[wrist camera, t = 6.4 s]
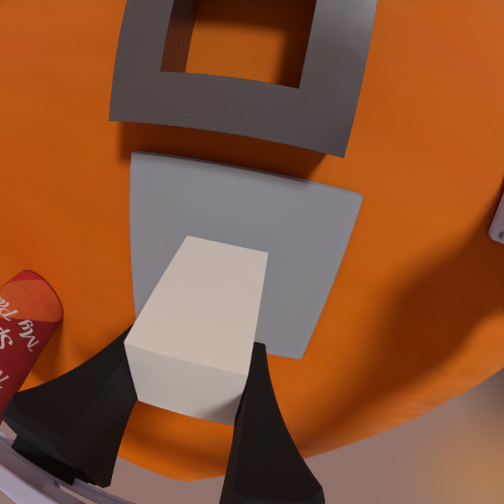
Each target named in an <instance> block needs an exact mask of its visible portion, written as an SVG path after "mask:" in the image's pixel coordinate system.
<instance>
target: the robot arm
mask: <svg viewBox="0 0 504 504" xmlns="http://www.w3.org/2000/svg"><path fill="white" fill-rule="evenodd" d="M500 232H501V234H500ZM499 234H500V235H499ZM489 237H490V238H491V239H493V240H494V241H497V242H499V243H502V244H504V193H503V195H502V198H501V201H500V204H499V206H498V209H497V211H496V214H495V217H494V219H493V221H492V224H491V226H490V229H489ZM133 325H134V323H133V324H132V325H131V326H130V327H129V328H128V329H127V330H126V331H125V332H123V333H122V334H121V335H120V336H119V337H117V338H116V339H115V340H114V341H113V342H111V343H110V344H109V345H108V346H106V347H105V348H104V349H102V350H101V351H100V352H98V353H97V354H96V355H94V356H93V357H92V358H90V359H89V360H87V361H86V362H84V363H83V364H81V365H79V366H78V367H76V368H74V369H73V370H71V371H69V372H67V373H65V374H63V375H62V376H60V377H57V378H55V379H53V380H51V381H48V382H46V383H44V384H41V385H39V386H36V387H33V388H30V389H27V390H24V391H20V392H17V393H14V394H13V396H12V397H11V398H10V400H9V401H8V403H7V405H6V406H5V408H4V410H3V411H2V413H1V417H2V419H3V420H4V421H5V423H7V425H8V426H9V427H10V428H11V429H12V430H13V431H14V432H15V433H16V434H17V437H16V439H15V440H12V439H11V438H10V437H8V436H7V435H5V434H4V433H3V432H1V431H0V489H1V490H2V491H3V492H4V493H5V494H7V495H8V496H9V497H10V498H11V499H12V500H14V501H15V502H17V503H18V504H86V503H84V502H82V501H80V500H79V499H77V498H76V497H74V496H72V495H70V494H68V493H66V492H65V491H63V490H61V489H60V487H59V484H60V485H62V486H63V487H65V488H67V489H69V490H71V491H73V492H75V493H77V494H79V495H81V496H83V497H85V498H87V499H89V500H91V501H93V502H95V503H98V504H135V503H133V502H130V501H127V500H124V499H122V498H119V497H117V496H114V495H112V494H110V493H107V492H105V491H103V490H100V489H98V488H96V487H93V486H91V485H89V484H88V483H91V484H92V485H97V486H100V487H102V488H105V487H108V486H110V484H111V479H112V474H113V470H114V466H115V461H116V458H117V454H118V450H119V447H120V443H121V440H122V437H123V434H124V430H125V428H126V425H127V422H128V419H129V416H130V413H131V411H132V409H133V407H134V404H135V402H136V400H137V398H138V397H137V393H136V390H135V386H134V382H133V379H132V375H131V371H130V367H129V363H128V358H127V354H126V350H125V345H124V341H125V339H126V338H127V336H128V334H129V332H130V330H131V329H132V327H133ZM219 504H325V498H324V493H323V489H322V486H321V485H320V484H319V482H318V481H317V479H316V478H315V477H314V475H313V474H312V472H311V471H310V470H309V468H308V466H307V465H306V463H305V462H304V460H303V458H302V457H301V455H300V453H299V451H298V449H297V448H296V446H295V444H294V442H293V440H292V438H291V436H290V434H289V432H288V430H287V427H286V425H285V423H284V420H283V418H282V415H281V412H280V410H279V407H278V404H277V401H276V397H275V394H274V391H273V387H272V383H271V379H270V374H269V369H268V363H267V355H266V345H265V344H264V343H259V342H254V343H253V349H252V355H251V361H250V367H249V372H248V377H247V380H246V384H245V387H244V390H243V394H242V397H241V400H240V403H239V407H238V410H237V413H236V416H235V422H234V433H233V440H232V446H231V451H230V456H229V461H228V466H227V470H226V475H225V480H224V484H223V489H222V493H221V498H220V502H219Z"/></svg>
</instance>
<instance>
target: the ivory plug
mask: <svg viewBox="0 0 504 504" xmlns="http://www.w3.org/2000/svg"><path fill="white" fill-rule="evenodd" d="M267 258H268V253H267V252H262V251H258V250H253V249H248V248H243V247H239V246H234V245H229V244H225V243H220V242H215V241H210V240H206V239H201V238H196V237H191V236H187V237H186V239H185V240H184V242H183V243H182V245H181V247H180V248H179V250H178V251H177V253H176V254H175V256H174V258H173V259H172V261H171V262H170V264H169V266H168V267H167V269H166V271H165V272H164V274H163V276H162V277H161V279H160V281H159V282H158V284H157V286H156V287H155V289H154V291H153V292H152V294H151V296H150V297H149V299H148V301H147V302H146V304H145V306H144V308H143V309H142V311H141V313H140V314H139V316H138V318H137V320H136V321H135V323H134V325H133V327H132V329H131V330H130V332H129V334H128V336H127V338H126V339H125V341H124V345H125V350H126V354H127V358H128V363H129V367H130V371H131V375H132V379H133V382H134V386H135V390H136V393H137V397H138V400H139V401H141V402H144V403H147V404H150V405H153V406H156V407H160V408H163V409H166V410H170V411H173V412H177V413H180V414H184V415H188V416H192V417H196V418H200V419H204V420H208V421H212V422H217V423H221V424H226V425H231V426H233V423H234V420H235V416H236V413H237V410H238V407H239V403H240V400H241V397H242V394H243V390H244V387H245V384H246V380H247V377H248V372H249V367H250V361H251V355H252V349H253V343H254V337H255V331H256V326H257V320H258V313H259V307H260V301H261V295H262V289H263V283H264V277H265V270H266V264H267Z"/></svg>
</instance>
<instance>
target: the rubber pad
mask: <svg viewBox="0 0 504 504" xmlns="http://www.w3.org/2000/svg"><path fill="white" fill-rule="evenodd" d="M362 200H363V196H362V195H361V194H360V193H357V192H353V191H349V190H346V189H342V188H338V187H334V186H330V185H326V184H322V183H318V182H314V181H310V180H305V179H301V178H297V177H292V176H288V175H283V174H278V173H274V172H269V171H264V170H259V169H254V168H249V167H244V166H239V165H233V164H228V163H222V162H216V161H210V160H204V159H198V158H191V157H185V156H178V155H171V154H163V153H156V152H148V151H139V150H136V151H134V152H131V171H130V242H131V264H132V280H133V293H134V304H135V314H136V320H137V318H138V316H139V314H140V313H141V311H142V309H143V308H144V306H145V304H146V302H147V301H148V299H149V297H150V296H151V294H152V292H153V291H154V289H155V287H156V286H157V284H158V282H159V281H160V279H161V277H162V276H163V274H164V272H165V271H166V269H167V267H168V266H169V264H170V262H171V261H172V259H173V258H174V256H175V254H176V253H177V251H178V250H179V248H180V247H181V245H182V243H183V242H184V240H185V239H186V237H187V236H191V237H196V238H201V239H206V240H210V241H215V242H220V243H225V244H229V245H234V246H239V247H243V248H248V249H253V250H258V251H262V252H267V253H268V258H267V264H266V270H265V277H264V283H263V289H262V295H261V301H260V307H259V313H258V320H257V326H256V331H255V337H254V342H259V343H264V344H265V345H266V353H267V354H272V355H278V356H283V357H289V358H295V359H301V358H302V356H303V354H304V351H305V349H306V347H307V345H308V342H309V340H310V338H311V335H312V333H313V331H314V329H315V326H316V324H317V321H318V319H319V317H320V314H321V312H322V309H323V307H324V305H325V302H326V300H327V297H328V295H329V292H330V290H331V287H332V284H333V282H334V279H335V277H336V274H337V271H338V269H339V266H340V263H341V261H342V258H343V255H344V253H345V250H346V247H347V244H348V241H349V238H350V236H351V233H352V230H353V227H354V224H355V221H356V218H357V215H358V212H359V209H360V206H361V203H362Z"/></svg>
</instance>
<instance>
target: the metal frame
mask: <svg viewBox="0 0 504 504" xmlns="http://www.w3.org/2000/svg"><path fill="white" fill-rule="evenodd" d="M198 3H199V0H127V3H126V7H125V11H124V16H123V21H122V25H121V30H120V36H119V41H118V47H117V53H116V60H115V67H114V74H113V82H112V91H111V101H110V113H109V121H120V122H136V123H149V124H160V125H170V126H179V127H187V128H195V129H203V130H210V131H217V132H223V133H229V134H236V135H241V136H247V137H253V138H258V139H263V140H268V141H273V142H278V143H283V144H287V145H292V146H296V147H301V148H305V149H309V150H314V151H318V152H322V153H326V154H329V155H333V156H337V157H341V158H344V156H345V152H346V148H347V144H348V140H349V136H350V132H351V128H352V124H353V120H354V116H355V111H356V107H357V103H358V98H359V94H360V89H361V85H362V80H363V75H364V71H365V66H366V61H367V56H368V51H369V45H370V40H371V34H372V29H373V23H374V17H375V11H376V4H377V0H315V5H314V10H313V15H312V20H311V26H310V31H309V36H308V41H307V46H306V51H305V55H304V60H303V65H302V70H301V75H300V80H299V85H298V89H297V88H292V87H288V86H283V85H277V84H272V83H266V82H260V81H254V80H248V79H241V78H233V77H225V76H216V75H206V74H194V73H185V69H186V63H187V58H188V52H189V47H190V41H191V36H192V31H193V26H194V21H195V17H196V12H197V8H198Z"/></svg>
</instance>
